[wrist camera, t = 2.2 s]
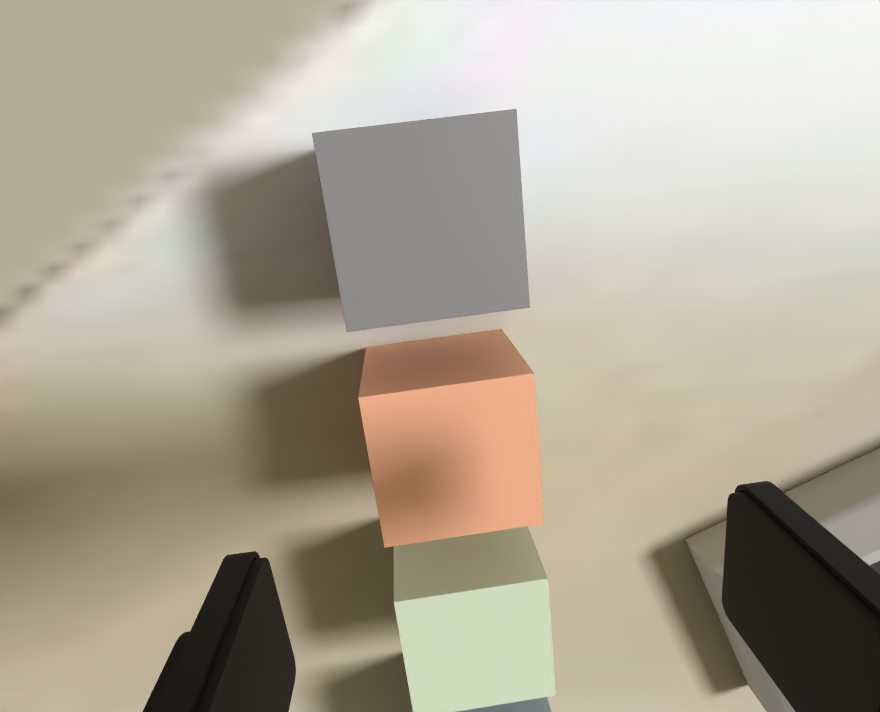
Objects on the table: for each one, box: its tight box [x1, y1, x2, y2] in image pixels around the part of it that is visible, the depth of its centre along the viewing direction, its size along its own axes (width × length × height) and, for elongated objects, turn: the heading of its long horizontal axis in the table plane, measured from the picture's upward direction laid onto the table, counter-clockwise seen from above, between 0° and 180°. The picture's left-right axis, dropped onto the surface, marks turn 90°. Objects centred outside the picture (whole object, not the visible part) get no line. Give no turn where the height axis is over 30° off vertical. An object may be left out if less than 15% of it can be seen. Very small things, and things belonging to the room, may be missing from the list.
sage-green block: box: [394, 526, 556, 712], centre depth 21 cm, size 5×5×5 cm
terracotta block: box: [358, 329, 544, 548], centre depth 19 cm, size 5×5×5 cm
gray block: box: [312, 109, 530, 332], centre depth 17 cm, size 5×5×5 cm
